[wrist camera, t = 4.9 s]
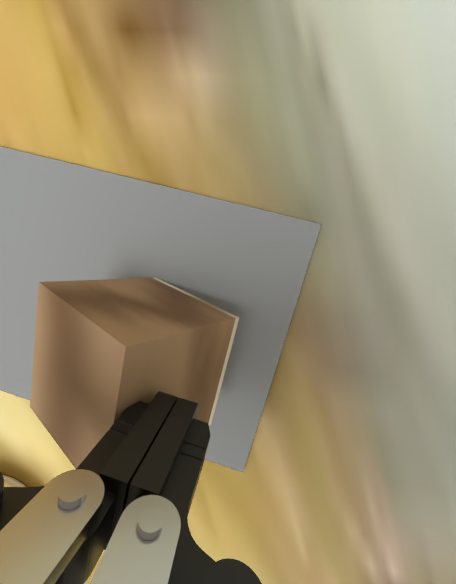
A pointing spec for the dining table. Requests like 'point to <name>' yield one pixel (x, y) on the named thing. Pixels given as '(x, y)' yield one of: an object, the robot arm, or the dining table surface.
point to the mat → (151, 269)
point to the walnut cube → (122, 354)
